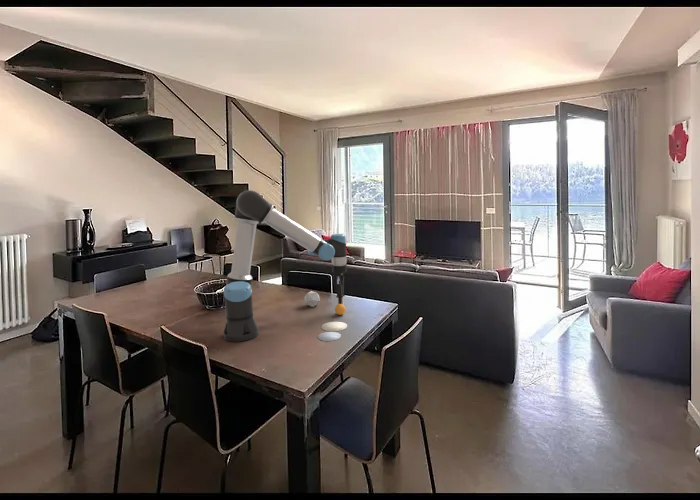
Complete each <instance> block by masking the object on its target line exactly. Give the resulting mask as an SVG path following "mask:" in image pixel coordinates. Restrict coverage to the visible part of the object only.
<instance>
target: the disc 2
mask: <svg viewBox="0 0 700 500" xmlns="http://www.w3.org/2000/svg"><path fill="white" fill-rule="evenodd" d="M341 337H342V334H341V333H340V332H338V331H325V332H320V334H318V336H317V339H318V340H320V341H323V342H333V341H337V340H339V339H341Z"/></svg>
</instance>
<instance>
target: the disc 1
mask: <svg viewBox="0 0 700 500" xmlns="http://www.w3.org/2000/svg"><path fill="white" fill-rule="evenodd" d="M347 328H348V324H347V323H346V322H343V321H330V322H324V323H323V324H322V325H321V329H322V331H325V332H339V331H343V330H346V329H347Z"/></svg>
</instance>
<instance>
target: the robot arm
mask: <svg viewBox="0 0 700 500" xmlns="http://www.w3.org/2000/svg"><path fill="white" fill-rule="evenodd" d="M235 204H236V205H235V213H234V219H235V221H236V222H237V224H236V232H235V240H234V248H233V254H232V264H231V271H230V272H229V273H228V274H227V277H226V283H225V284H226V285H225V286H224V287H223V297H224V298H223V299H224V307H225V309H224V311H225V317H226V321H225V323H224V324H225V326H224V330H223V339H224V340H225V341H228V342H235V343H236V342H237V343H239V342H244V341H248V340H249V341H250V340H252V339H254V338H256V337H258V335H259V326H258V324H257V322H256V320H255V317H254V307H253V305H254V304H253V290H252V285H253V277H254V276H252V275H251V268H252V262H253V253H254V247H255V246H254V245H255V241H256V240H255V239H256V238H255V237H256V231H257V224H266V225H267V226H270V227H271V228H272V229H274V230H275V231H277V232H279V233H280V234H282V235H284V236H285V237H287V238H288V239H289V240H292V241H293V242H295V243H297V244H298V245H299V246H301V247H303V248H305V249H306V250H307V254H308V255H309V256H317V257H319V258H320V259H321V260H323V261H330V260H331V265H332V266H331V270H332V271H331V272H332V273H333V274H336V275H335V277H334V278H335V282H334V283H335V290H336V298H337V305H338V304H342V305H344V297H345V296H346V294H344V293H345V292H344V291H345V290H344V289H345V286H344V285H345V280H344V279H345V275H344V274H345V273H347V271H348V265H347V261H348V258H347V238H346V237H347V236H346V234H344V233H333V234H331V235H330V238H326V239H322V238H320V237H319V236H317V235H316V234H314V233H313V232H312V231H310V230H308V229H307V228H305V227H303V226H302V225H300V224H299V223H297V222H296V221H294V220H292V219H291V218H289V217H288V216H287V215H285V214H284V213H282V212H280V211H278V210H277V209H276V208H275V207H274V205H273V204H272V203H270V202H269V201H268V200H267V199H265V197H263V196H262V195H261V194H260V193H259V192H257V191H254V190H249V189H247V190H244V191H242V192H240V193H239V195H237V198H236V202H235ZM344 306H345V305H344Z"/></svg>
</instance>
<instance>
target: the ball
mask: <svg viewBox="0 0 700 500" xmlns="http://www.w3.org/2000/svg"><path fill="white" fill-rule="evenodd" d="M334 312H335V313H336V315H339V316H341V315H344V314H345V313H346V306H345V305H342V304H338V303H337V304H336V305H335V306H334Z"/></svg>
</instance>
